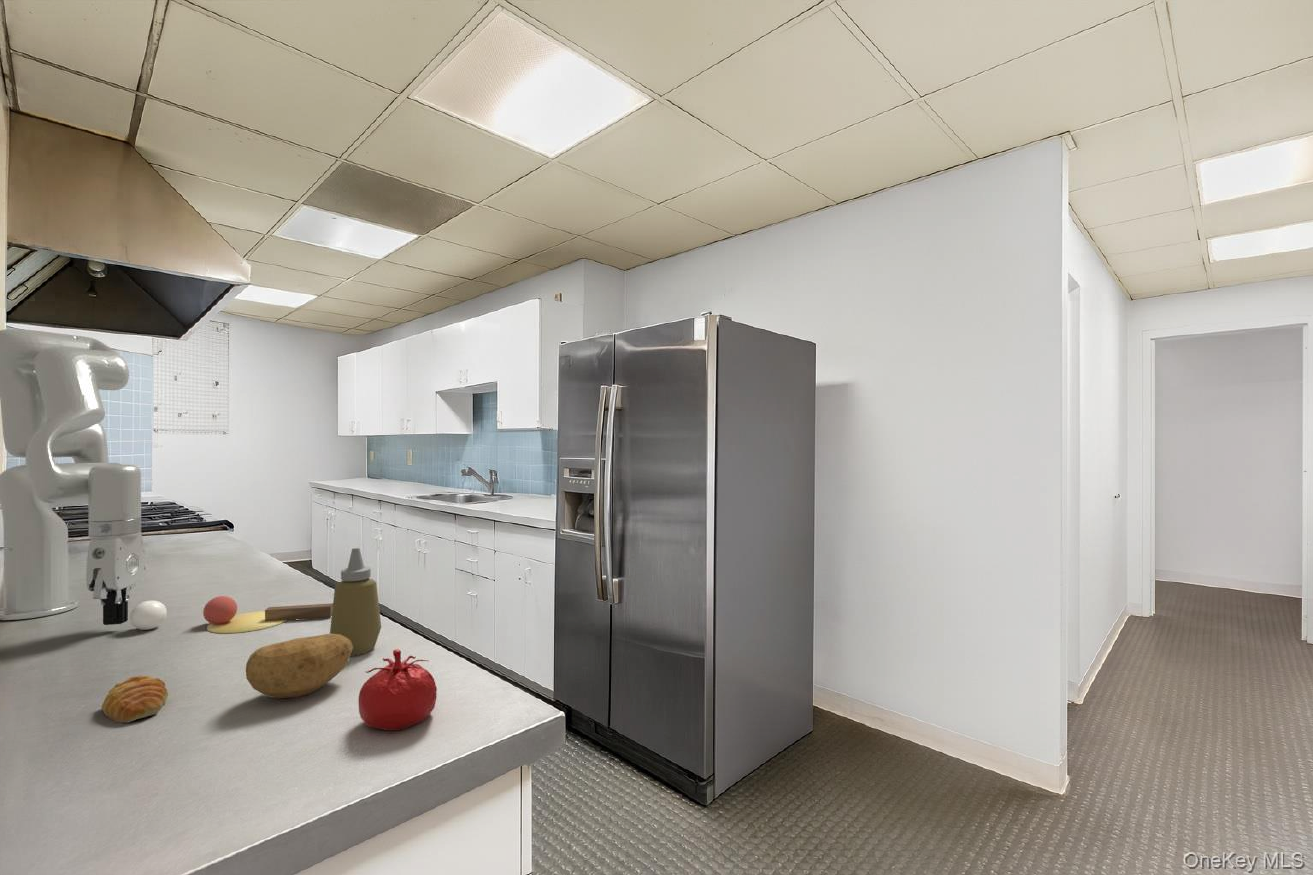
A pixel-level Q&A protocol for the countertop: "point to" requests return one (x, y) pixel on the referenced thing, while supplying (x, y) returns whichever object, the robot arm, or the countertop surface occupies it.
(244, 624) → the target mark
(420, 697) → the red tomato
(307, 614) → the rail
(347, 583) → the squeeze bottle
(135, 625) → the white egg
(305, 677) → the potato
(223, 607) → the object ball
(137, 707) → the pastry
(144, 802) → the countertop surface
